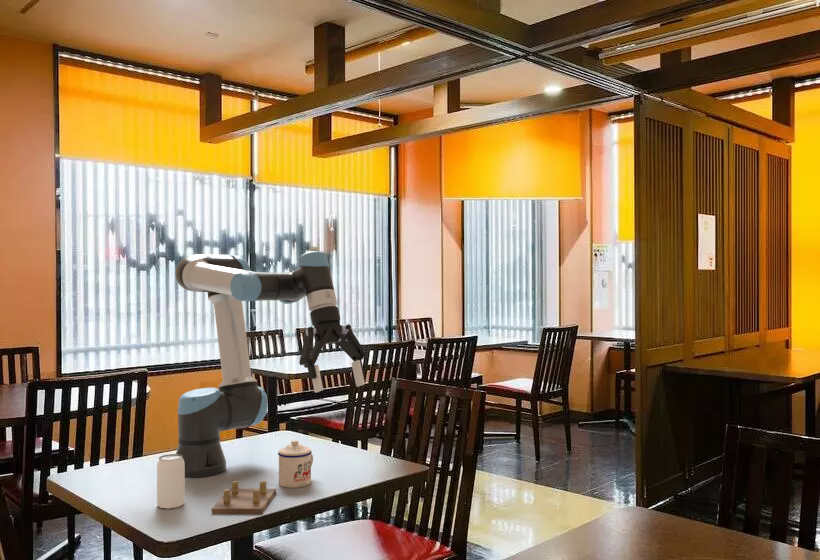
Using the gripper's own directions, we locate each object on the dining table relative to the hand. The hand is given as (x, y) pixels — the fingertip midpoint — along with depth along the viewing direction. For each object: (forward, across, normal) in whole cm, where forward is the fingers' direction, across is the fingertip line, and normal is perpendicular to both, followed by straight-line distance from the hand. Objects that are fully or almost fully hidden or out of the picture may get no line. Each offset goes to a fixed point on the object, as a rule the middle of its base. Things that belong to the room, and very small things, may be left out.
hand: (340, 388), depth 178 cm
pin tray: (+22, -20, +22) cm, 37 cm away
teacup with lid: (+20, 0, +27) cm, 34 cm away
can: (+18, -34, +33) cm, 50 cm away
